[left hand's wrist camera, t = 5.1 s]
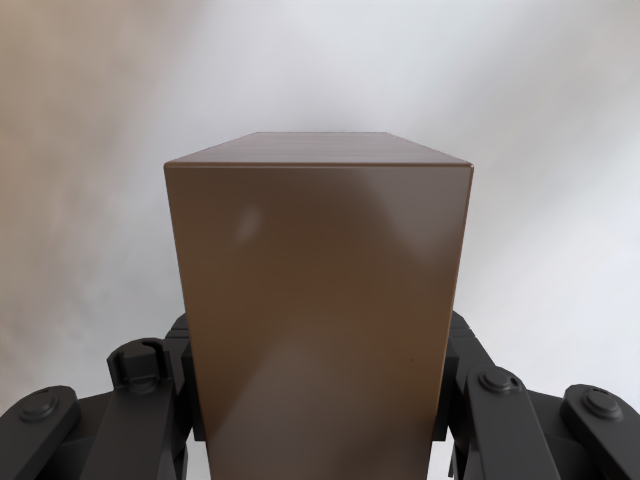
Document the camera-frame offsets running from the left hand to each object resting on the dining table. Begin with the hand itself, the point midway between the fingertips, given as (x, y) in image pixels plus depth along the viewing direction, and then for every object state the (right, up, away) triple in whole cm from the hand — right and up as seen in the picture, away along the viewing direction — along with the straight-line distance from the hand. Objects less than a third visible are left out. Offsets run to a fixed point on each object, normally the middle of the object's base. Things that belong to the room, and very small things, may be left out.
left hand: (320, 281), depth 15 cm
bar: (0, -25, +10) cm, 27 cm away
